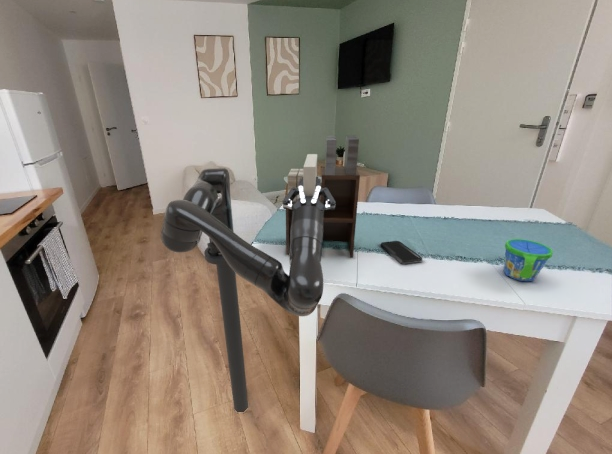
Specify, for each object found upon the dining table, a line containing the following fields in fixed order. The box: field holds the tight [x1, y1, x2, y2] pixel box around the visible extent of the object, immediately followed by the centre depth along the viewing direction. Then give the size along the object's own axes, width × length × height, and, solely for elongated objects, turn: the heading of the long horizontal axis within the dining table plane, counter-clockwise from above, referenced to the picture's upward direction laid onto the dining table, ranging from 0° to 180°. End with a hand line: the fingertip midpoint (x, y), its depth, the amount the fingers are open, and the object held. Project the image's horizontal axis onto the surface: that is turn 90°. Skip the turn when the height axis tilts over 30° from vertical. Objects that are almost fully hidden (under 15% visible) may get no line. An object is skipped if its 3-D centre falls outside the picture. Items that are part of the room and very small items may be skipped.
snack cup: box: [503, 238, 554, 282], centre depth 87 cm, size 16×10×10 cm
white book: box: [302, 153, 318, 196], centre depth 82 cm, size 20×3×9 cm, turn 169°
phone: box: [380, 240, 423, 265], centre depth 105 cm, size 8×1×15 cm
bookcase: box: [285, 134, 361, 259], centre depth 104 cm, size 14×24×41 cm, turn 79°
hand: (310, 179), depth 79 cm, fingers closed on white book, 3 cm apart
